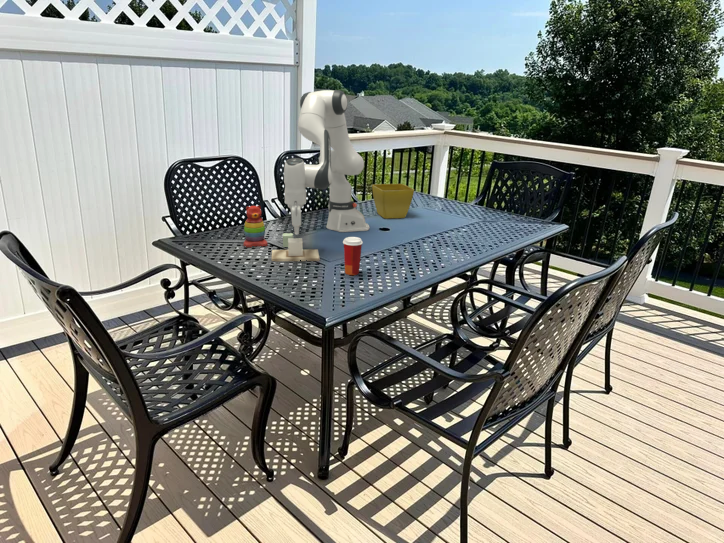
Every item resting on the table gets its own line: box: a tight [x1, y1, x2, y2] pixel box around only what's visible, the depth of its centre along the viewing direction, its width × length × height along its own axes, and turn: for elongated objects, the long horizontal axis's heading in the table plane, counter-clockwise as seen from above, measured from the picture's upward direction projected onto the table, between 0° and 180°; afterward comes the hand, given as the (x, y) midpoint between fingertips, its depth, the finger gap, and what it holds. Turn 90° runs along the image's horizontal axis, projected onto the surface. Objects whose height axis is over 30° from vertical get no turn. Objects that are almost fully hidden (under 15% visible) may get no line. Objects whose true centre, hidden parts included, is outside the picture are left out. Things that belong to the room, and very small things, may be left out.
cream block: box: [287, 237, 304, 256], centre depth 220 cm, size 6×6×6 cm
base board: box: [271, 248, 320, 262], centre depth 221 cm, size 20×12×1 cm, turn 98°
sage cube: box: [282, 232, 294, 248], centre depth 234 cm, size 4×4×6 cm
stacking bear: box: [242, 205, 269, 248], centre depth 233 cm, size 11×10×18 cm
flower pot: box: [371, 183, 415, 220], centre depth 291 cm, size 19×19×17 cm
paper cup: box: [342, 236, 364, 276], centre depth 202 cm, size 8×8×14 cm
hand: (296, 230), depth 217 cm, fingers open, 8 cm apart
